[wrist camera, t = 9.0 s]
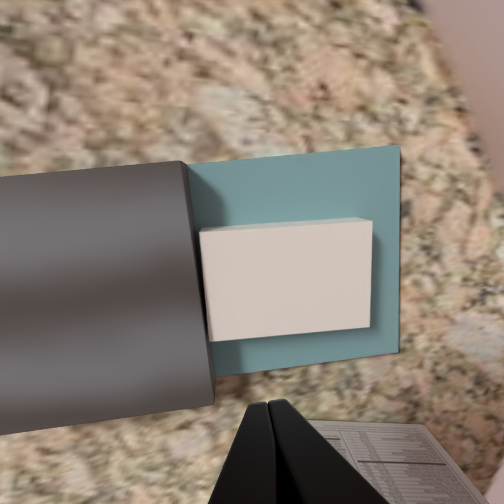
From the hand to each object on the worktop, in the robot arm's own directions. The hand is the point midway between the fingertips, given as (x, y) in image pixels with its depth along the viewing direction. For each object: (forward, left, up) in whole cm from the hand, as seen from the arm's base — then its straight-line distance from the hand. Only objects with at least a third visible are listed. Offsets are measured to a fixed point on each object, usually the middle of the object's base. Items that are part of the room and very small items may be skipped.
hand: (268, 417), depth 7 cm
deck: (0, +8, -12) cm, 15 cm away
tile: (0, -2, -10) cm, 11 cm away
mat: (0, -4, -12) cm, 12 cm away
